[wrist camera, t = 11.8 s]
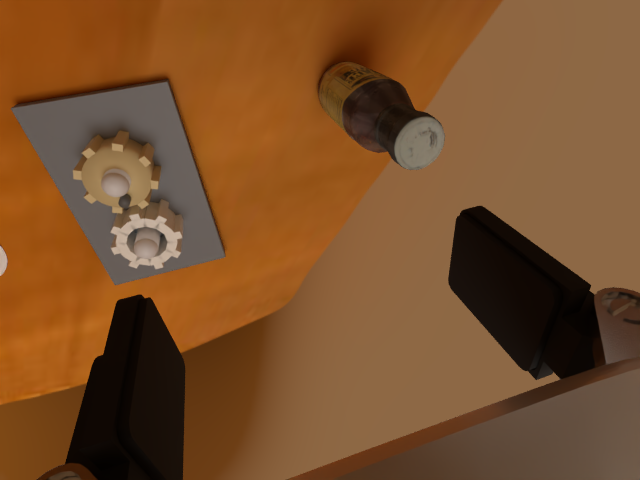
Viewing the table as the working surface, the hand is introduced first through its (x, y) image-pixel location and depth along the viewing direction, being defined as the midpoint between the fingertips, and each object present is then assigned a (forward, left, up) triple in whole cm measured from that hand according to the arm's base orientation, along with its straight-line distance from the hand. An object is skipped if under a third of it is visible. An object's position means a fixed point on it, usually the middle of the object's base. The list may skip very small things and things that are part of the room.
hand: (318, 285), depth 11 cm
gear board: (+10, -13, -34) cm, 38 cm away
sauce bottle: (+3, +12, -34) cm, 37 cm away
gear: (+14, -13, -33) cm, 38 cm away
